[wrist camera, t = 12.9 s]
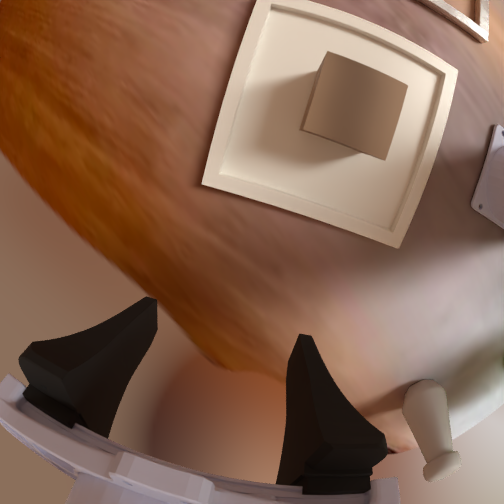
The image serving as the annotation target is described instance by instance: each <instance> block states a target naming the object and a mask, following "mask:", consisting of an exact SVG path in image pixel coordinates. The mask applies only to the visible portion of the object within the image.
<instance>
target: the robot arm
mask: <svg viewBox="0 0 504 504" xmlns="http://www.w3.org/2000/svg"><path fill="white" fill-rule="evenodd" d="M501 133H502V134H501ZM479 205H480V208H479ZM471 207H472V208H473V209H474V210H476V211H477V212H479V213H480V214H482V215H484V216H485V217H487V218H488V219H490V220H491V221H493V222H494V223H495V224H497V225H498V226H500V227H501V228H503V229H504V128H503V127H502V126H501V125H498V124H496V125H495V126H494V130H493V134H492V138H491V142H490V146H489V149H488V153H487V156H486V160H485V163H484V166H483V170H482V173H481V176H480V179H479V182H478V185H477V187H476V190H475V193H474V196H473V198H472V201H471ZM157 329H158V328H157V299H153V298H150V297H145V298H143V299H141V300H140V301H138V302H137V303H135V304H133V305H132V306H130V307H129V308H127V309H125V310H124V311H122V312H121V313H119V314H117V315H115V316H114V317H112V318H110V319H108V320H106V321H104V322H103V323H100V324H98V325H96V326H94V327H92V328H89V329H87V330H84V331H81V332H78V333H75V334H72V335H69V336H65V337H61V338H57V339H51V340H45V341H36V342H32V343H31V344H30V345H29V346H28V348H27V349H26V350H25V351H24V352H23V353H22V354H21V355H20V357H19V365H20V367H21V369H22V371H23V373H24V375H25V376H26V378H27V380H28V382H29V385H28V387H27V388H26V386H25V385H24V384H23V383H21V382H20V381H19V380H17V379H16V378H15V377H13V376H12V375H11V374H7V376H6V377H5V378H4V379H3V380H2V382H1V383H0V423H1V424H2V426H3V427H4V428H5V429H6V430H7V431H8V432H10V433H11V434H12V435H13V436H14V437H16V438H17V439H18V440H19V441H21V442H22V443H23V444H24V445H26V446H27V447H28V448H30V449H31V450H32V451H33V452H35V453H36V454H38V455H39V456H40V457H41V458H43V459H44V460H46V461H47V462H48V463H50V464H52V465H53V466H54V467H56V468H57V469H59V470H61V471H62V472H64V473H65V474H67V475H68V476H70V477H71V478H73V479H75V480H76V481H75V483H74V485H73V487H72V490H71V492H70V494H69V496H68V498H67V500H66V502H65V504H401V502H400V494H399V487H398V478H397V477H392V478H384V479H376V480H372V481H370V476H371V475H372V474H373V472H372V467H373V466H375V465H376V464H378V463H379V462H380V461H381V460H383V459H384V458H385V457H386V456H387V454H388V449H387V443H386V439H385V435H384V434H383V433H382V432H381V431H379V430H378V429H377V428H376V427H374V426H373V425H372V424H370V423H369V422H368V421H367V420H366V419H365V418H364V417H363V416H362V415H361V414H360V413H359V412H358V411H357V410H356V409H355V408H354V407H353V406H352V405H351V403H350V402H349V401H348V400H347V399H346V397H345V396H344V395H343V393H342V392H341V391H340V389H339V388H338V386H337V385H336V383H335V382H334V380H333V378H332V377H331V375H330V373H329V371H328V370H327V368H326V366H325V364H324V362H323V360H322V358H321V356H320V354H319V351H318V349H317V347H316V345H315V342H314V340H313V338H312V336H310V335H304V334H299V336H298V338H297V341H296V343H295V346H294V348H293V351H292V353H291V356H290V358H289V361H288V367H287V376H286V427H285V435H284V442H283V449H282V455H281V460H280V466H279V471H278V476H277V481H276V484H267V483H259V482H251V481H245V480H239V479H234V478H228V477H223V476H218V475H213V474H209V473H205V472H201V471H197V470H193V469H189V468H186V467H182V466H179V465H176V464H172V463H169V462H166V461H163V460H160V459H157V458H154V457H151V456H148V455H146V454H143V453H140V452H138V451H135V450H132V449H130V448H127V447H125V446H122V445H120V444H118V443H116V442H114V441H111V440H109V439H108V437H109V433H110V430H111V427H112V424H113V420H114V418H115V415H116V412H117V409H118V406H119V404H120V401H121V399H122V396H123V394H124V392H125V389H126V387H127V385H128V383H129V381H130V379H131V377H132V375H133V374H134V372H135V370H136V369H137V367H138V365H139V364H140V362H141V360H142V359H143V357H144V355H145V354H146V352H147V350H148V349H149V347H150V345H151V343H152V341H153V339H154V337H155V334H156V332H157Z"/></svg>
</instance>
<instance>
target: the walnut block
mask: <svg viewBox="0 0 504 504" xmlns="http://www.w3.org/2000/svg"><path fill="white" fill-rule="evenodd" d="M407 88H408V85H407V84H405V83H403V82H401V81H399V80H397V79H395V78H393V77H391V76H389V75H386V74H384V73H382V72H380V71H378V70H375V69H373V68H371V67H369V66H366V65H364V64H361V63H359V62H357V61H354V60H351V59H349V58H346V57H344V56H341V55H338V54H335V53H332V52H330V51H327V53H326V55H325V57H324V59H323V61H322V63H321V65H320V66H319V68H318V70H317V74H316V77H315V80H314V83H313V87H312V90H311V93H310V96H309V100H308V103H307V106H306V109H305V113H304V116H303V119H302V122H301V125H300V129H299V130H300V131H303V132H306V133H309V134H312V135H315V136H318V137H321V138H324V139H327V140H330V141H332V142H335V143H338V144H340V145H343V146H346V147H348V148H351V149H353V150H356V151H358V152H361V153H364V154H367V155H370V156H372V157H375V158H378V159H381V160H384V161H385V160H386V157H387V155H388V152H389V149H390V146H391V143H392V139H393V136H394V133H395V130H396V127H397V124H398V120H399V117H400V113H401V110H402V107H403V103H404V99H405V96H406V92H407Z"/></svg>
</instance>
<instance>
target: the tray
mask: <svg viewBox="0 0 504 504" xmlns="http://www.w3.org/2000/svg"><path fill="white" fill-rule="evenodd" d="M327 51H330V52H332V53H335V54H338V55H341V56H344V57H346V58H349V59H351V60H354V61H357V62H359V63H361V64H364V65H366V66H369V67H371V68H373V69H375V70H378V71H380V72H382V73H384V74H386V75H389V76H391V77H393V78H395V79H397V80H399V81H401V82H403V83H405V84H407V85H408V88H407V92H406V96H405V99H404V103H403V107H402V110H401V113H400V117H399V120H398V124H397V127H396V130H395V133H394V136H393V139H392V143H391V146H390V149H389V152H388V155H387V157H386V160H385V161H384V160H381V159H378V158H375V157H372V156H370V155H367V154H364V153H361V152H358V151H356V150H353V149H351V148H348V147H346V146H343V145H340V144H338V143H335V142H332V141H330V140H327V139H324V138H321V137H318V136H315V135H312V134H309V133H306V132H303V131H300V130H299V129H300V125H301V122H302V119H303V116H304V113H305V109H306V106H307V103H308V100H309V96H310V93H311V90H312V87H313V83H314V80H315V77H316V74H317V70H318V68H319V66H320V65H321V63H322V61H323V59H324V57H325V55H326V53H327ZM457 74H458V70H457V69H455V68H454V67H452V66H451V65H449V64H448V63H446V62H445V61H443V60H442V59H440V58H439V57H437V56H435V55H434V54H432V53H431V52H429V51H427V50H425V49H424V48H422V47H420V46H418V45H417V44H415V43H413V42H411V41H409V40H407V39H405V38H404V37H402V36H400V35H398V34H396V33H394V32H391V31H389V30H387V29H385V28H383V27H381V26H378V25H376V24H374V23H372V22H369V21H367V20H364V19H362V18H359V17H357V16H354V15H351V14H349V13H346V12H343V11H340V10H337V9H334V8H331V7H328V6H325V5H322V4H318V3H315V2H311V1H307V0H257V1H256V4H255V6H254V9H253V12H252V15H251V17H250V20H249V23H248V26H247V28H246V31H245V34H244V37H243V40H242V43H241V46H240V49H239V52H238V55H237V58H236V61H235V64H234V67H233V70H232V73H231V77H230V80H229V83H228V86H227V90H226V93H225V96H224V100H223V103H222V107H221V110H220V114H219V117H218V121H217V125H216V128H215V132H214V136H213V140H212V144H211V147H210V151H209V155H208V159H207V163H206V167H205V172H204V176H203V180H202V185H206V186H210V187H213V188H217V189H220V190H224V191H227V192H231V193H234V194H237V195H241V196H244V197H248V198H251V199H254V200H257V201H261V202H264V203H267V204H270V205H274V206H277V207H280V208H283V209H286V210H289V211H292V212H295V213H299V214H302V215H305V216H308V217H311V218H314V219H317V220H319V221H322V222H325V223H328V224H331V225H334V226H337V227H340V228H343V229H345V230H348V231H351V232H354V233H357V234H359V235H362V236H365V237H368V238H370V239H373V240H376V241H378V242H381V243H384V244H386V245H389V246H392V247H394V248H397V249H399V247H400V245H401V243H402V241H403V238H404V236H405V234H406V232H407V230H408V227H409V225H410V223H411V221H412V218H413V216H414V214H415V211H416V209H417V206H418V204H419V201H420V199H421V196H422V194H423V191H424V189H425V186H426V183H427V181H428V178H429V175H430V172H431V170H432V167H433V164H434V161H435V158H436V155H437V152H438V149H439V146H440V142H441V139H442V136H443V132H444V129H445V125H446V122H447V118H448V114H449V110H450V106H451V102H452V98H453V93H454V89H455V84H456V79H457Z"/></svg>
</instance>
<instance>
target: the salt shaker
mask: <svg viewBox="0 0 504 504" xmlns="http://www.w3.org/2000/svg"><path fill="white" fill-rule="evenodd" d="M402 413H403V415H404V417H405V419H406V421H407V423H408V425H409V427H410V429H411V431H412V433H413V435H414V437H415V439H416V441H417V443H418V445H419V447H420V449H421V452H422V454H423V456H424V458H425V460H426V462H427V464H426V465H425V466H424V468H423V475H424V478H425V480H426V481H429V482H435V481H439V480H442V479H444V478H446V477H448V476H450V475H452V474H453V473H455V472H456V471H457V470H458V469H459V468H460V466H461V458H460V455H459V453H458V451H453V448H452V437H451V428H450V420H449V412H448V404H447V397H446V393H445V390H444V389H443V387H442V386H440V385H439V384H438V383H437V382H435V381H434V380H424V379H423V380H421V381H419V382H417V383H416V384H414V385H412V386H410V387H409V389H408V391H407V393H406V394H405V397H404V403H403V408H402Z"/></svg>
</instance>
